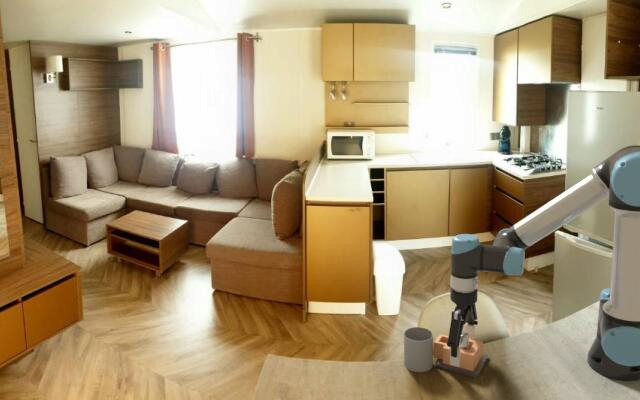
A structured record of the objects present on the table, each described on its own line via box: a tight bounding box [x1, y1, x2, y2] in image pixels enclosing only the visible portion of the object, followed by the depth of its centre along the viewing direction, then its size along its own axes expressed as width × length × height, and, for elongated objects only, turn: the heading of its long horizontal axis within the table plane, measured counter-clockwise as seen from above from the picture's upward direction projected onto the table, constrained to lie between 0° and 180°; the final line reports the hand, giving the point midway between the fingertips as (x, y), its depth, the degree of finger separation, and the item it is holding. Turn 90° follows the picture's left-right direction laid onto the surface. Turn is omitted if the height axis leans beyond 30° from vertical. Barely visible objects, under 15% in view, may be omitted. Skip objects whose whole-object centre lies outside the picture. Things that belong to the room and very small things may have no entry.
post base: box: [435, 331, 489, 379], centre depth 158 cm, size 12×12×9 cm
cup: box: [403, 326, 434, 373], centre depth 158 cm, size 8×8×10 cm
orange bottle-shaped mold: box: [433, 333, 484, 371], centre depth 160 cm, size 12×9×5 cm
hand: (462, 354), depth 159 cm, fingers open, 13 cm apart
